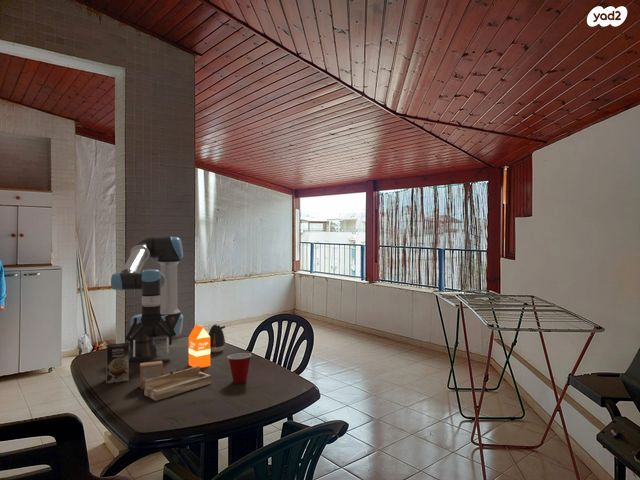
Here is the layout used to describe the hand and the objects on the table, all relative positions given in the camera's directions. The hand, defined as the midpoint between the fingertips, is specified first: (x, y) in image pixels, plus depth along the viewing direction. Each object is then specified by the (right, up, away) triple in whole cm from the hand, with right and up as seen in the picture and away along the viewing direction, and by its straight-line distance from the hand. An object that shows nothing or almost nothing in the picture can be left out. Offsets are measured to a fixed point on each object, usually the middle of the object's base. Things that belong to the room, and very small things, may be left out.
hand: (151, 354), depth 186 cm
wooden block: (0, -14, +1) cm, 14 cm away
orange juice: (+12, -14, +31) cm, 36 cm away
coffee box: (-18, -14, +8) cm, 25 cm away
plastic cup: (+37, -14, +7) cm, 40 cm away
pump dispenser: (+14, -14, +56) cm, 60 cm away
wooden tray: (+13, -14, -3) cm, 19 cm away
